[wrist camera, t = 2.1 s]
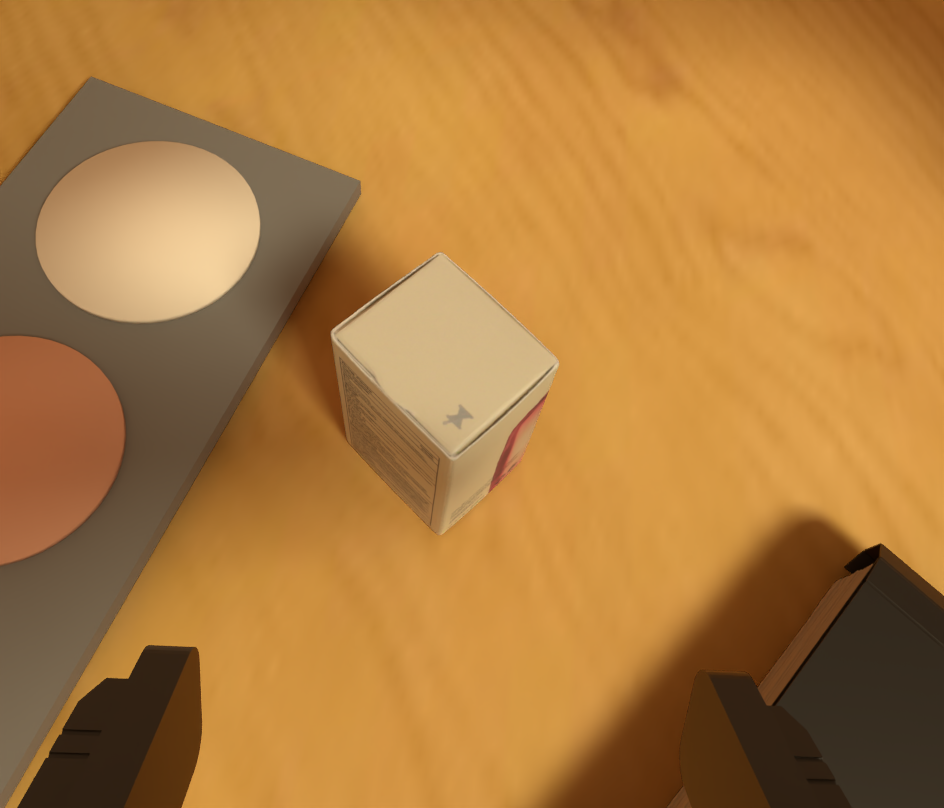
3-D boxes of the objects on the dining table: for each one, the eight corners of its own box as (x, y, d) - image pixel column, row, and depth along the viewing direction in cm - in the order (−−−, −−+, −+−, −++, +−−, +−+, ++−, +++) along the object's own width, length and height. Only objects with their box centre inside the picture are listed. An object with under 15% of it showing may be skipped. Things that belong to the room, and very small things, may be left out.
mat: (97, 91, 34) (88, 70, 33) (360, 193, 33) (360, 176, 32) (-524, 853, 22) (-568, 857, 21) (-135, 1046, 21) (-161, 1059, 20)
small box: (525, 460, 29) (569, 362, 22) (437, 541, 28) (454, 463, 21) (429, 366, 30) (441, 242, 23) (340, 438, 29) (323, 331, 22)
